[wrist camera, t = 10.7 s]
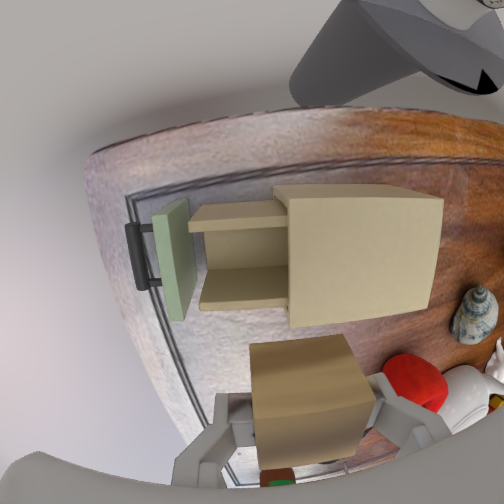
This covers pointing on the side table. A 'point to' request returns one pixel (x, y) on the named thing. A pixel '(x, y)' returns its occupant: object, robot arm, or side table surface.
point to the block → (307, 401)
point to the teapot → (467, 396)
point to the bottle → (277, 477)
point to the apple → (417, 381)
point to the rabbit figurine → (496, 363)
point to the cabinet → (358, 251)
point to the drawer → (216, 255)
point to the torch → (495, 403)
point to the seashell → (475, 316)
